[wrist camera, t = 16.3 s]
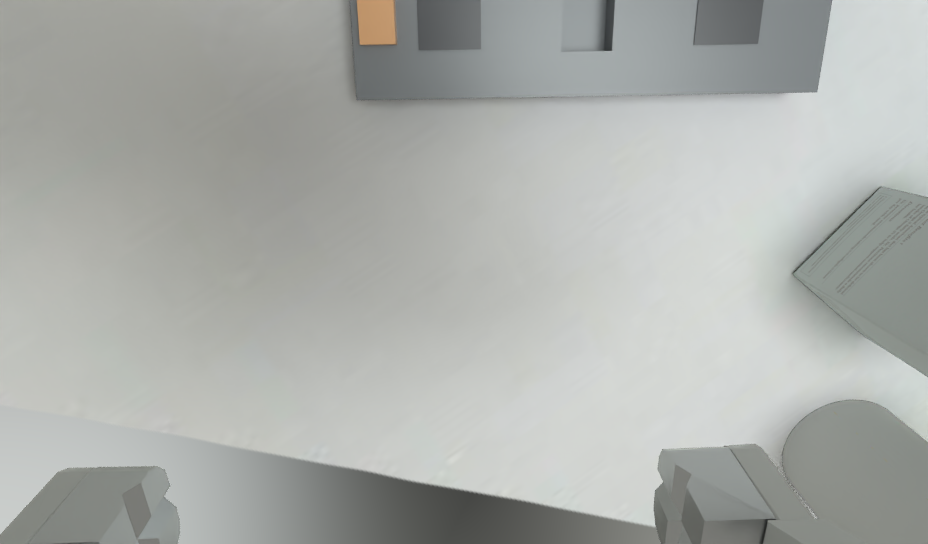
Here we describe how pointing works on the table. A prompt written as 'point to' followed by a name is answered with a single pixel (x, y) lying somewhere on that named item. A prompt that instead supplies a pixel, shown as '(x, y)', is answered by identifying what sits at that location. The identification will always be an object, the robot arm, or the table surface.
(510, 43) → the power strip
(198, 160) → the table surface
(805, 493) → the cup
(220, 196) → the table surface
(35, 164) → the table surface
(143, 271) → the table surface
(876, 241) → the supplement box
